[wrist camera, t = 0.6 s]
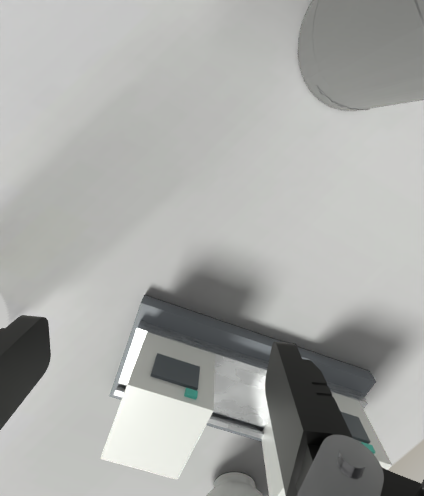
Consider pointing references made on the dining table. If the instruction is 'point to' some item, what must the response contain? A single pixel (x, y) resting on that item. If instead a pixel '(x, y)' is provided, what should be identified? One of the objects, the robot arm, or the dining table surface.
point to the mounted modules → (192, 414)
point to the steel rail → (226, 382)
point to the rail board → (237, 345)
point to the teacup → (234, 485)
